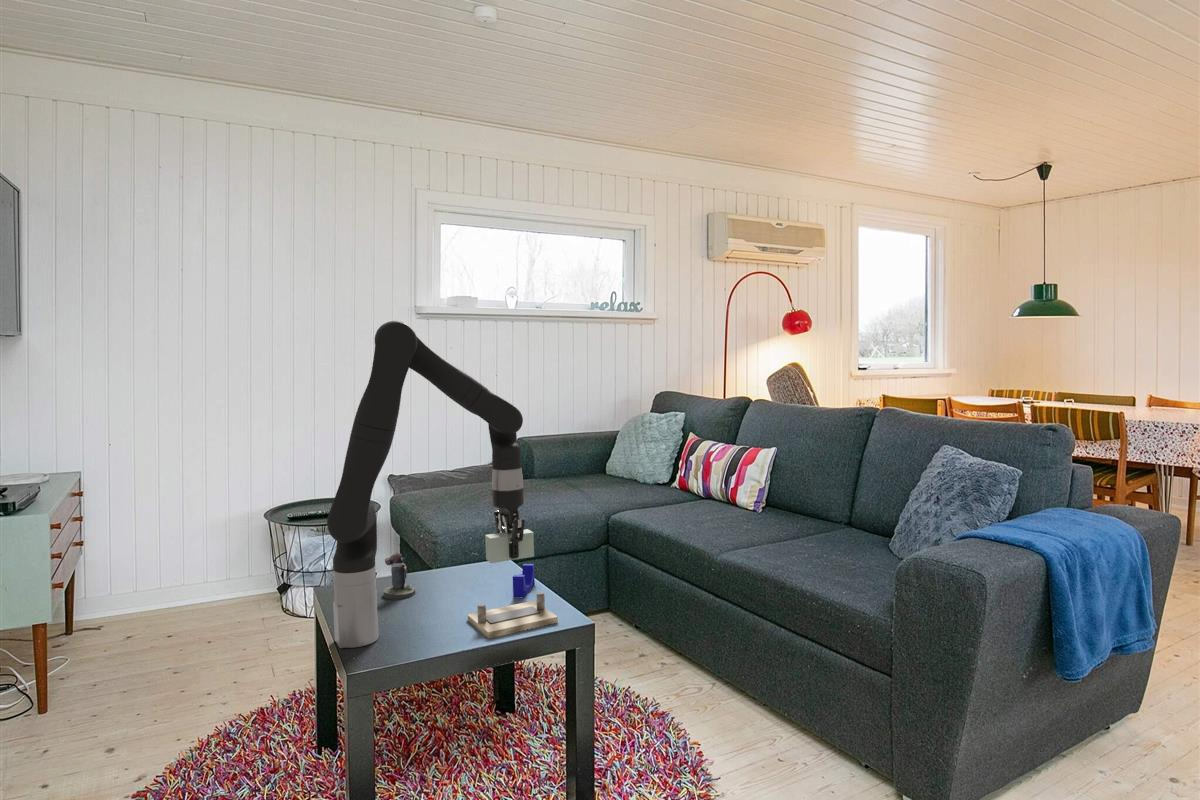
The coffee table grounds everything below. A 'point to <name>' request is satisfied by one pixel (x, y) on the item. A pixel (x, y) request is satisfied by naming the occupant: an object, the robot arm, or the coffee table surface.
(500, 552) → the door block
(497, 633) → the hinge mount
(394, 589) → the figurine
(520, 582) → the blue piece
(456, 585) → the coffee table surface
